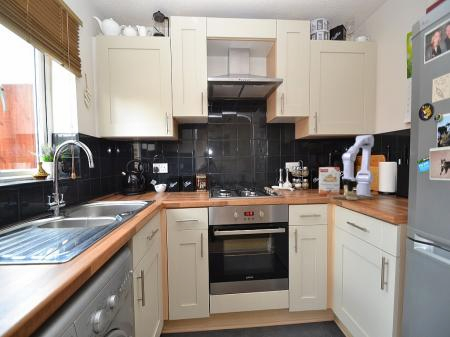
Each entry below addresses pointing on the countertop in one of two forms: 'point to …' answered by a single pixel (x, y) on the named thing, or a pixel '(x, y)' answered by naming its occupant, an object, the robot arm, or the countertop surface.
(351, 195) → the gauge
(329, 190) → the cracker box
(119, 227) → the countertop surface
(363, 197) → the board
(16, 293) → the countertop surface
